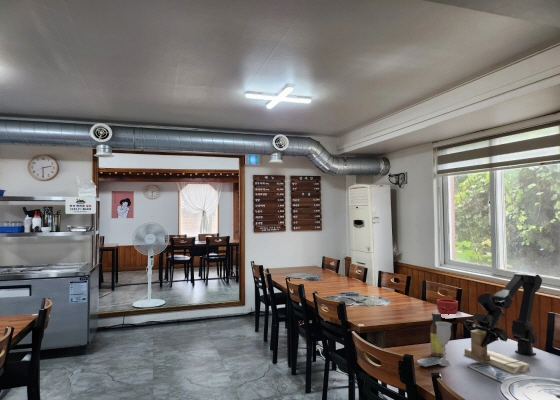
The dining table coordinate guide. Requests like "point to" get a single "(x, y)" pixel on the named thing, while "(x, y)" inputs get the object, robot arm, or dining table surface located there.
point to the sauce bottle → (435, 336)
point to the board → (504, 362)
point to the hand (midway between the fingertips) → (476, 345)
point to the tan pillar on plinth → (478, 346)
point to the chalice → (444, 339)
